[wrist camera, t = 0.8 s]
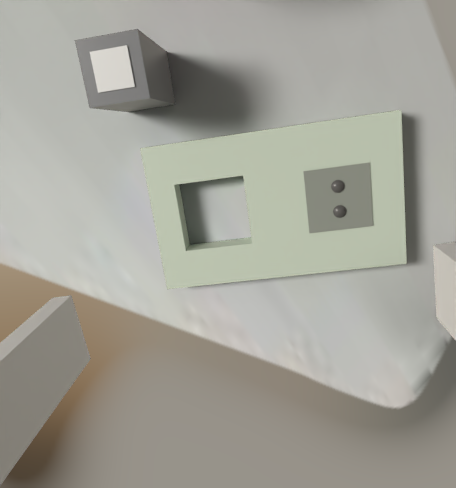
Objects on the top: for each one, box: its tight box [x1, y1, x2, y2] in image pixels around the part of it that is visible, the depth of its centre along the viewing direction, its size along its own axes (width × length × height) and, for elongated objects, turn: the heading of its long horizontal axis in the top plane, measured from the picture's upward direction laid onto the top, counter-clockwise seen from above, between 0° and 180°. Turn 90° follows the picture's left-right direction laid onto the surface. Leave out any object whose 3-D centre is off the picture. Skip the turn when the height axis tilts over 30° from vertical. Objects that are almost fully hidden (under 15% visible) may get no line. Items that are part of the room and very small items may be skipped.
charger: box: [75, 29, 175, 112], centre depth 30 cm, size 4×4×8 cm
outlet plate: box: [140, 110, 407, 289], centre depth 34 cm, size 12×20×2 cm, turn 98°
